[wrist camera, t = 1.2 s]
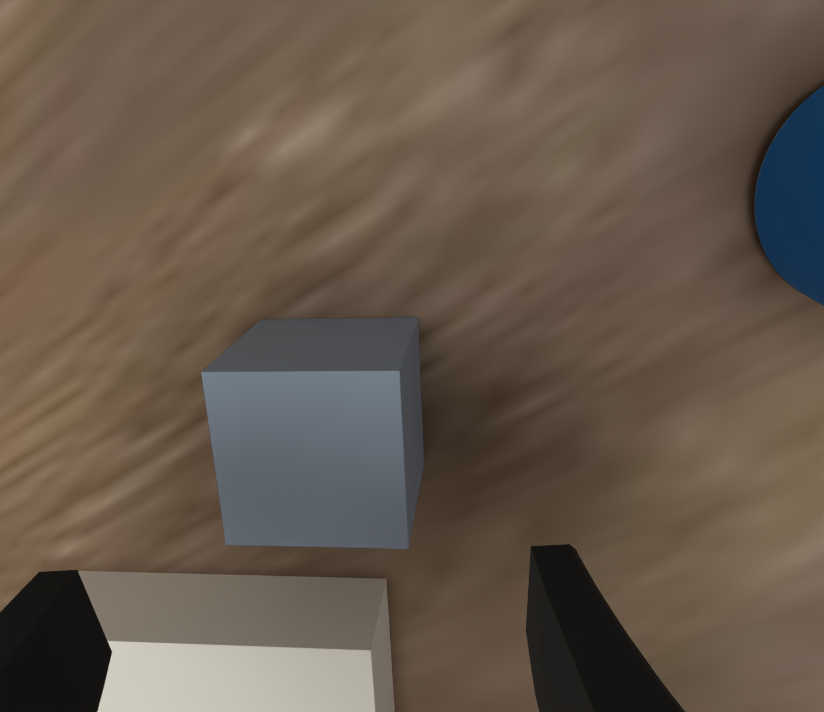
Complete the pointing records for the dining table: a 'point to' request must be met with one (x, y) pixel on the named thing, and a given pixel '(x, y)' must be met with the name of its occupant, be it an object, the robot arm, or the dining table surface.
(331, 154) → the dining table surface
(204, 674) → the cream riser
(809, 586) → the dining table surface
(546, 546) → the robot arm
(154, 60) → the dining table surface
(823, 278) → the beverage can
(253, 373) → the blue cube
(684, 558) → the dining table surface
